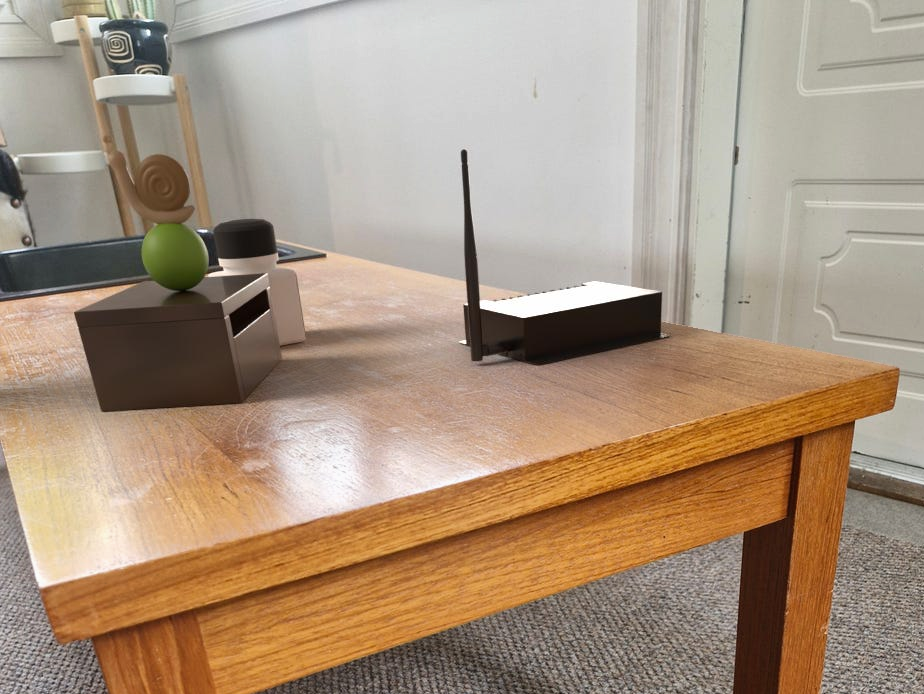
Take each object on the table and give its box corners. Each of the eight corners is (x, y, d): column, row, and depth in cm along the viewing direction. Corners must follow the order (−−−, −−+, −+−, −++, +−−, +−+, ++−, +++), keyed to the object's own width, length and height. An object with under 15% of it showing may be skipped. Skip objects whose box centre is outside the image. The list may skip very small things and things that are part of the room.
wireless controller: (584, 317, 97) (583, 136, 88) (673, 336, 86) (681, 131, 78) (421, 349, 88) (403, 151, 80) (498, 373, 78) (486, 148, 69)
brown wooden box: (101, 411, 75) (73, 311, 71) (163, 366, 89) (143, 281, 85) (241, 403, 75) (221, 302, 71) (282, 359, 88) (267, 272, 84)
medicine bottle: (307, 341, 95) (288, 217, 89) (244, 353, 92) (220, 225, 86) (281, 332, 101) (261, 215, 95) (220, 343, 97) (195, 222, 91)
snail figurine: (151, 288, 80) (115, 135, 74) (221, 283, 80) (191, 129, 74) (130, 298, 76) (89, 135, 70) (204, 293, 75) (171, 129, 69)
